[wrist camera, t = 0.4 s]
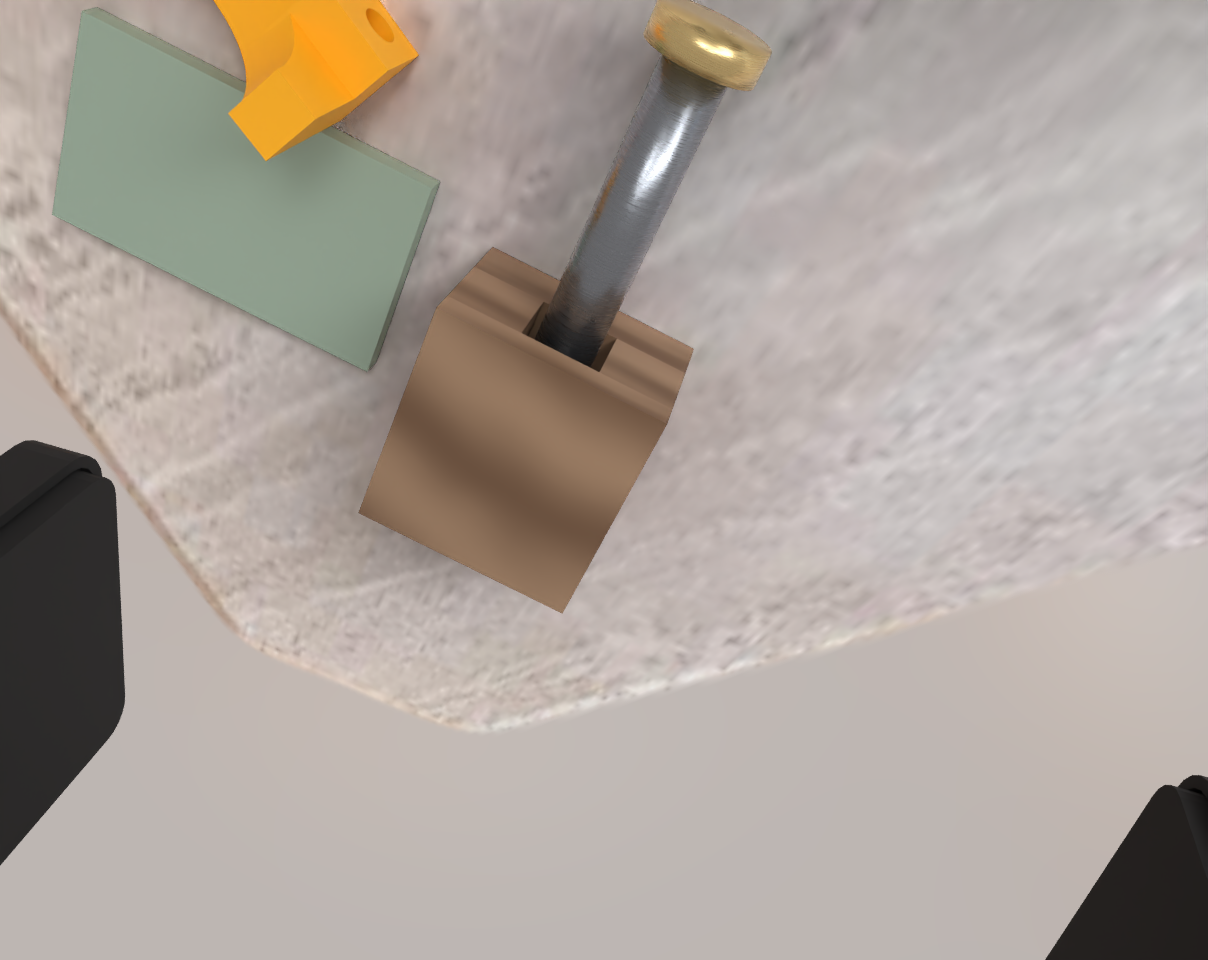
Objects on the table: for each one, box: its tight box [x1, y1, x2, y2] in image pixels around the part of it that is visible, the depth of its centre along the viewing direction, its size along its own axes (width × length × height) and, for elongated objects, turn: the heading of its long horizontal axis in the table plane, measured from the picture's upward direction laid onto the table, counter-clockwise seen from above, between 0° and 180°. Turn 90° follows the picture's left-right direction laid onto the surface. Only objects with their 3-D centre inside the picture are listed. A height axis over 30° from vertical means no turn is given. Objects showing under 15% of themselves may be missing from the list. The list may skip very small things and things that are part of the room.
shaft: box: [534, 0, 772, 368], centre depth 39 cm, size 15×4×4 cm, turn 156°
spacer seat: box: [52, 7, 440, 372], centre depth 46 cm, size 9×15×1 cm, turn 66°
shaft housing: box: [359, 247, 694, 613], centre depth 45 cm, size 10×9×7 cm
